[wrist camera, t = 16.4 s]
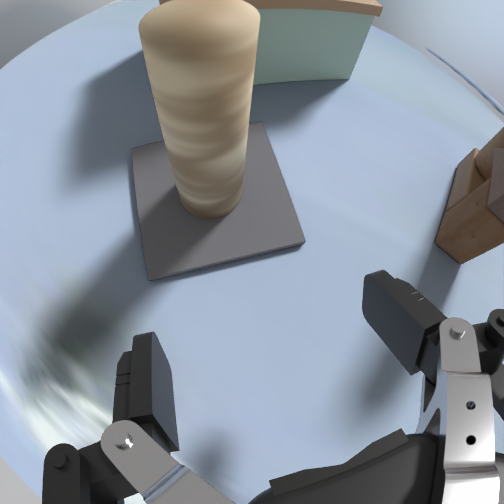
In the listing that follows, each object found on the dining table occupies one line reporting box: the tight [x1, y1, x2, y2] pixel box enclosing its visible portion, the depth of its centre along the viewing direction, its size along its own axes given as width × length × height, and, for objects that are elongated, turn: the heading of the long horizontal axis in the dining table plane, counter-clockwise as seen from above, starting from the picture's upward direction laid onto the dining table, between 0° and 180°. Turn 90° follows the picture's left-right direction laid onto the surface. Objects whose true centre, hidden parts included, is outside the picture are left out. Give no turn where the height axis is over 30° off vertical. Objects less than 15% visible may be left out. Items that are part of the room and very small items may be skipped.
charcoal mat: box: [131, 122, 305, 281], centre depth 23 cm, size 11×11×1 cm
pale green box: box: [159, 0, 383, 85], centre depth 23 cm, size 19×13×13 cm
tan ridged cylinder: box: [139, 0, 260, 219], centre depth 16 cm, size 5×5×14 cm
